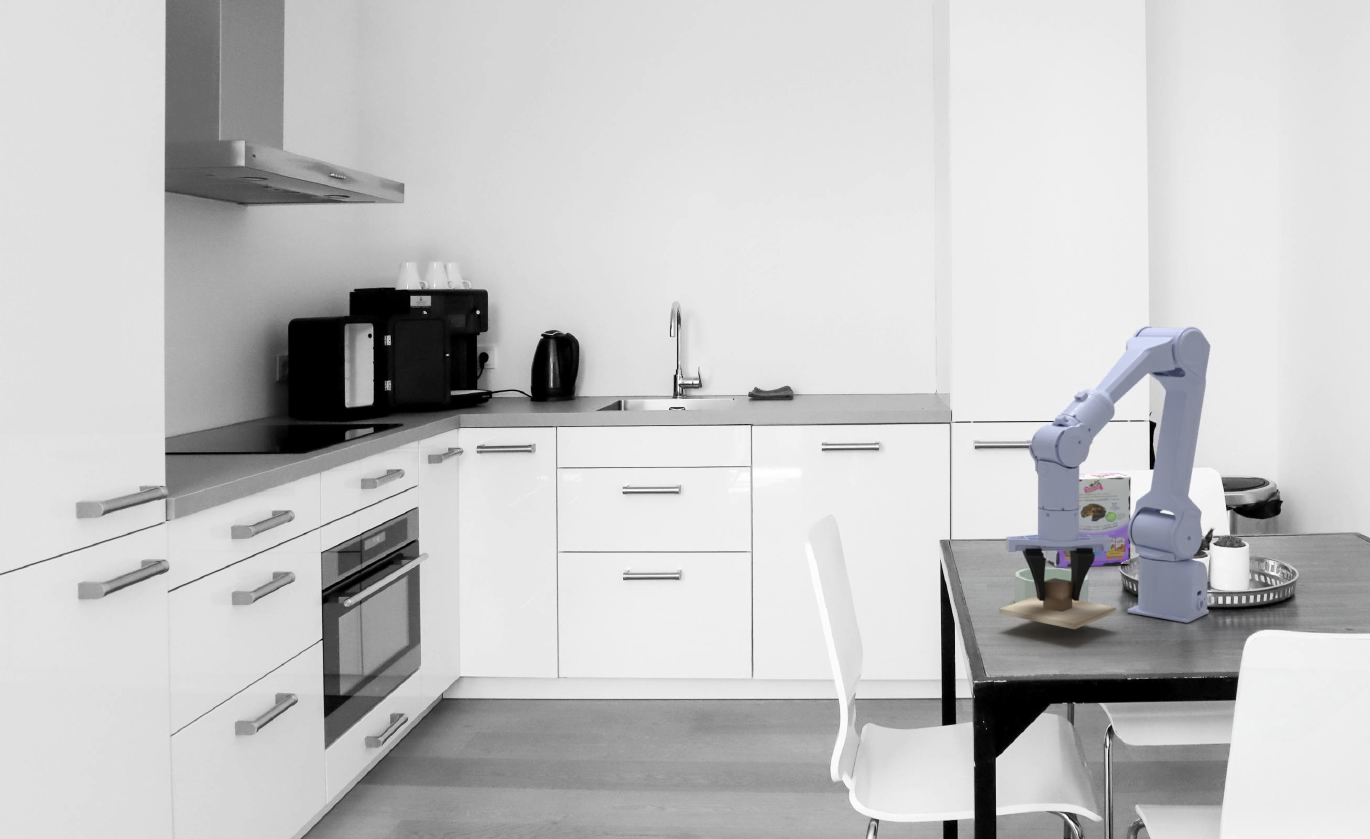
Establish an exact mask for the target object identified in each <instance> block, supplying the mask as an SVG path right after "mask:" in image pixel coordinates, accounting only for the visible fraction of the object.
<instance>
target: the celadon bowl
mask: <svg viewBox="0 0 1370 839" xmlns="http://www.w3.org/2000/svg"><path fill="white" fill-rule="evenodd" d="M1052 578H1057V579H1063V580H1069V581H1071V569H1067V568H1063V567H1045V576H1044V581H1046V580H1049V579H1052ZM1014 586H1015V591H1014V592H1015V595H1014V596H1015V599H1014V600H1015V603H1017V602H1020V601H1023V600H1026V599H1029V598H1032V597H1035V596H1037V593H1036V587H1035V583H1034V579H1033V576H1032V573H1031V570H1030V568H1023V569H1020V570H1017V571H1015V585H1014ZM1079 601H1084V602H1089V576H1088V573H1087V574H1086V577H1085V579H1084V582H1083V585H1082V588H1081V592H1080V596H1079Z"/></svg>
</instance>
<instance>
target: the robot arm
mask: <svg viewBox="0 0 1370 839" xmlns="http://www.w3.org/2000/svg"><path fill="white" fill-rule="evenodd" d="M1210 352H1211V344H1210V342H1209V341H1208V339H1207V338H1206V337H1205V335H1204V334H1203V332H1202V331H1201V330H1200V329H1199V328H1197V327H1195V326H1185V327H1153V326H1142V327H1140V328H1139V329H1137V330H1136V331H1135V332H1134V334H1133V335H1132V336H1131V337H1129V338H1128V339H1127V341H1126V344H1125V352H1124V353H1123V355H1121V357H1120V358H1119V359H1118V360H1117V361H1116V363H1115V364H1114V366H1113V367H1112V368H1111V369H1110V370H1109V371H1108V373H1107V374H1106V376H1105V377H1103V379H1102V380H1101V382H1100V383H1099V384H1098V385H1097V387H1096V388H1095V389H1091V388H1090V389H1084V390H1082V391H1077V393H1076V394H1075V395H1074V396H1073V397H1074V399H1073V400H1072V402H1071V403H1070V404H1069V405H1068V406H1067V407H1066V408H1065V409H1064V410H1063V412H1062V413H1060V414H1058V415H1057V416H1056V417H1055V419H1054V421H1053V422H1052V423H1051V424H1047V425H1043V426H1041V427H1040V428H1039V429H1037V431H1036V432H1035V433H1034V434H1033V436H1032V438H1031V441H1030V442H1031V443H1029V444H1028V451H1029V455H1030V456H1031V458H1032V459H1033V461H1034V465H1035V466H1034V467H1035V469H1034V470H1035V472H1036V475H1037V534H1030V535H1029V534H1028V535H1015V536H1014V535H1013V536H1006V538H1005V540H1006V551H1007V552H1008V553H1016V552H1021V553H1022V554H1023V556H1024V558H1025V561H1026V563H1027V565H1028V567H1029V568H1030V570H1031V573H1032V576H1033V579H1034V583H1035V587H1036V593H1037V598H1038V599H1039V601H1045V583H1044V576H1045V568H1046V564H1047V563H1046V562H1047V560H1046V559H1047V557H1045V556H1044V554H1045V553H1044V551H1045V552H1047V551H1070V559H1071V567H1070V570H1071V581H1073V591H1072V599H1073V600H1074V601H1079V596H1080V592H1081V588H1082V585H1083V582H1084V579H1085V577H1086V574H1087V575H1088V572H1089V570H1090V568H1091V567H1092V566H1091V565H1092V563H1093V562H1094V559H1095V554H1094V553H1093V550H1102V551H1111V538H1109V537H1108V536H1093V535H1079V474H1080V465H1081V464H1082V463H1084V462H1085V461H1086V460H1087V458H1088V456H1089V453H1090V448H1091V445H1092V444H1093V441H1094V438H1095V437H1096V436H1097V435H1099V433H1100V432H1101V431H1102V430H1103V428H1104V427H1105V426H1107V425H1108V423H1109V422H1110V421H1111V420H1112V419H1113V418H1114V416H1115V411H1116V410H1115V404H1116V403H1117V402H1118V401H1120V400H1121V399H1122V398H1123V397H1124V395H1126V394H1127V393H1128V392H1129V391H1130V390H1131V389H1132V388H1134V386H1136V385H1137V384H1138V383H1139V382H1140V381H1142V379H1143V378H1145V376H1147V375H1148V374H1149V375H1150V376H1151V377H1152V378H1154V379H1155V380H1156V381H1158V382H1159V384H1160V385H1161V386H1162V387H1163V389H1165V390H1164V391H1165V397H1164V401H1163V408H1162V413H1161V414H1162V416H1161V421H1160V422H1161V423H1160V426H1159V427H1160V428H1159V435H1158V440H1157V446H1156V453H1155V461H1154V466H1153V472H1152V479H1151V485H1150V490H1149V491H1148V492H1147V493H1145V494H1144V495H1142V496H1141V497H1140V498H1138V499H1137V500H1136V503H1135V509H1134V512H1133V514H1132V515H1131V516H1130V521H1129V524H1128V537H1129V540H1130V544H1132V546H1134V547H1135V553H1136V554H1138V586H1137V587H1138V588H1137V589H1138V593H1137V595H1138V597H1137V603H1138V604H1137V605H1134V606H1132V607H1130V608H1128V609H1126V611H1127V613H1130V614H1136V615H1142V616H1146V617H1152V618H1158V619H1164V620H1170V621H1175V622H1182V623H1190V622H1192V621H1195V620H1197V619H1198V618H1201V617H1203V616H1205V615H1207V614H1209V612H1210V611H1209V609H1208V568H1207V566H1206V564H1205V562H1203V561H1199V560H1195V559H1194V555H1196V554H1197V552H1198V551H1199V550H1200V547H1201V545H1202V543H1203V542H1202V541H1203V529H1202V524H1201V520H1202V511H1201V508H1199V506H1197V505H1196V503H1195V502H1194V501H1193V500H1192V499H1191V498H1190V497H1189V493H1190V489H1191V488H1190V486H1191V482H1192V481H1191V480H1192V475H1193V469H1194V468H1193V467H1194V462H1195V455H1196V448H1197V445H1198V444H1197V442H1198V438H1199V437H1198V436H1199V429H1200V424H1201V418H1202V411H1203V406H1204V405H1203V404H1204V399H1205V392H1206V385H1207V379H1206V378H1207V376H1206V375H1207V370H1208V364H1209V359H1210ZM1162 511H1165V512H1167V511H1168V512H1170V513H1172V514H1170V513H1165V512H1162ZM1047 546H1050V547H1047ZM1029 568H1028V569H1029Z"/></svg>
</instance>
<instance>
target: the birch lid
mask: <svg viewBox="0 0 1370 839" xmlns="http://www.w3.org/2000/svg"><path fill="white" fill-rule="evenodd" d="M1044 583H1045V601H1039V599H1038V598H1037V596H1035V597H1032V598H1029V599H1026V600H1023V601H1020V602H1017V603H1011V604H1008V605H1006V606H1003V607H1000V608H999V612H998V613H999V615H1003V616H1008V617H1013V618H1018V619H1022V620H1028V621H1032V622H1037V623H1038V622H1039V623H1043V624H1047V625H1053V626H1058V627H1061V628H1066V629H1072V630H1077V629H1079V628H1081V627H1082V628H1083V627H1084V626H1086V625H1088V624H1092V623H1094V622H1097V621H1098V620H1102V619H1104V618H1106V617H1109V616H1111V615H1114V614H1116V613H1117V607H1116V606H1109V605H1105V604H1100V603H1095V602H1094V603H1093V602H1089V601H1088V602H1084V601H1074V600H1073V599H1072V591H1073V581H1069V580H1063V579H1057V578H1052V579H1049V580H1046V581H1044Z"/></svg>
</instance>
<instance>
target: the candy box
mask: <svg viewBox="0 0 1370 839" xmlns="http://www.w3.org/2000/svg"><path fill="white" fill-rule="evenodd" d="M1131 480H1132V478H1131V476H1128V475H1125V474H1122V473H1118V472H1116V473H1115V472H1111V473H1110V472H1109V473H1083V474H1082V473H1081V474H1080V473H1079V535H1093V536H1108V537H1109V538H1111V551H1102V550H1093V553H1094V554H1095V559H1094V562H1093V563H1092V565H1091V567H1098V566H1099V567H1101V566H1120V565H1119V564H1121V563H1122V562H1124V561H1126V560H1129V559H1130V560H1131V542H1130V540H1129V537H1128V524H1129V521H1130V519H1131V484H1132V482H1131ZM1046 547H1050V546H1046ZM1046 562H1048V563H1050V565H1052V566H1053V567H1054V568H1071V559H1070V551H1046Z"/></svg>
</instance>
